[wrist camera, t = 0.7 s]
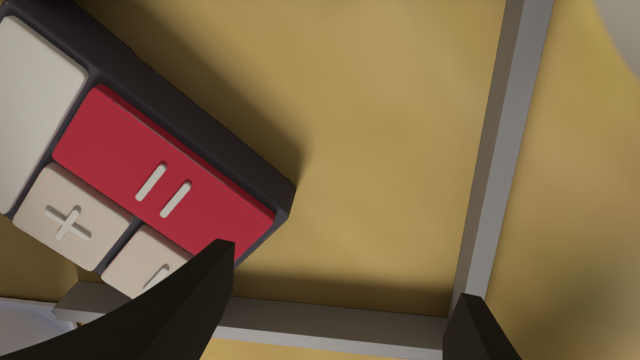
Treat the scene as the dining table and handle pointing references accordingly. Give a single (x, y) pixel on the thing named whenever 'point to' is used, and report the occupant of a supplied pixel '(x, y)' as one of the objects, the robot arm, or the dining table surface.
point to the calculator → (119, 154)
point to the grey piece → (476, 248)
